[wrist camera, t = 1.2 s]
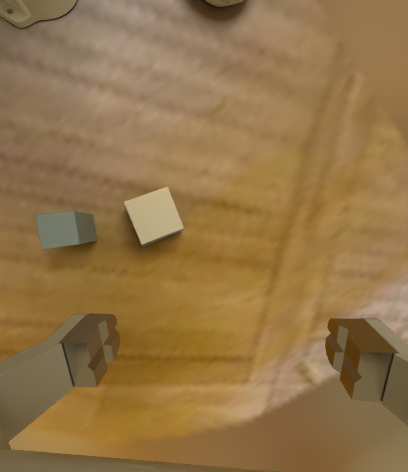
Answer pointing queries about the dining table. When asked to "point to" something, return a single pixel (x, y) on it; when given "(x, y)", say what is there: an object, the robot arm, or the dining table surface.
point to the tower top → (154, 215)
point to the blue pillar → (65, 229)
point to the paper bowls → (223, 2)
